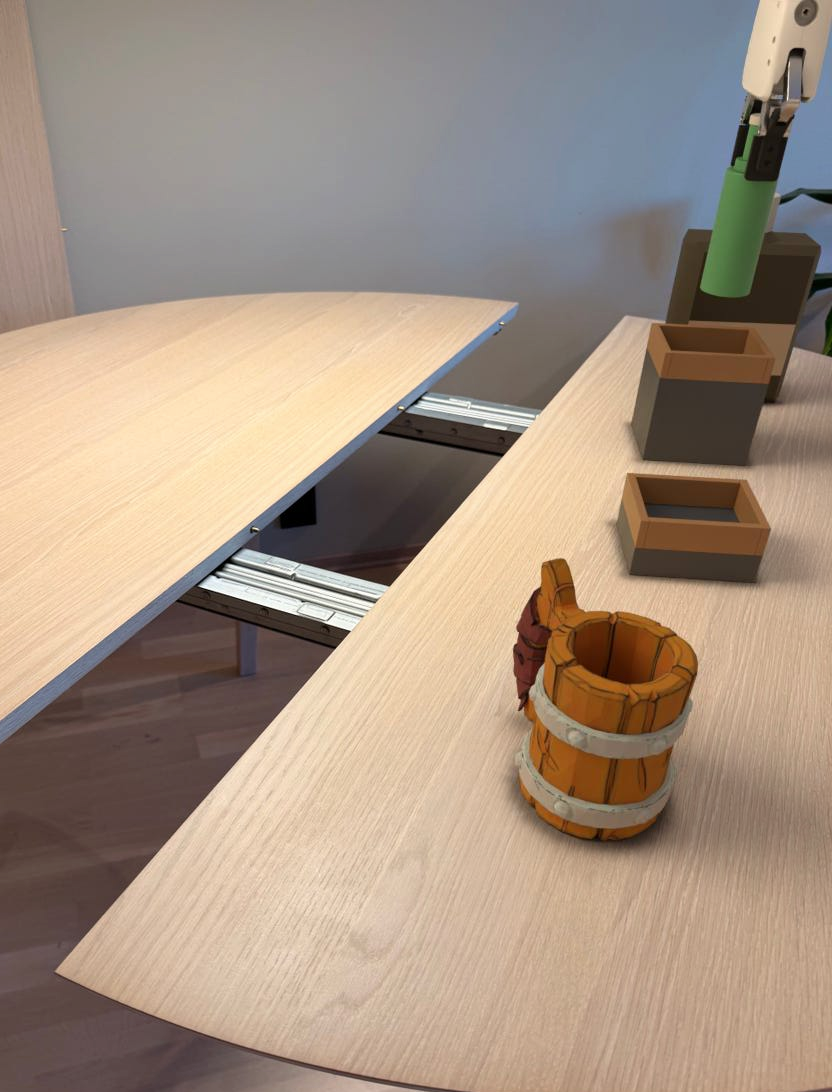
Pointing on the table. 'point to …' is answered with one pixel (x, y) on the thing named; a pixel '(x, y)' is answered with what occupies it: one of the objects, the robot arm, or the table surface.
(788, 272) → the dark boxy piece
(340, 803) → the table surface
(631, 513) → the shallow open tray
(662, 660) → the mug
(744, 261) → the green bottle
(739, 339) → the grey storage bin
